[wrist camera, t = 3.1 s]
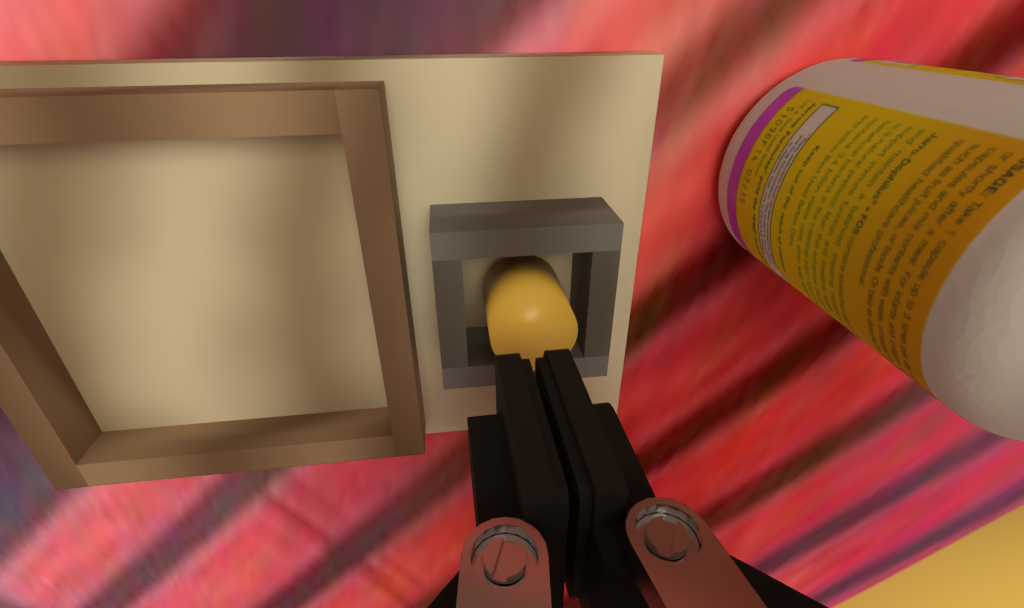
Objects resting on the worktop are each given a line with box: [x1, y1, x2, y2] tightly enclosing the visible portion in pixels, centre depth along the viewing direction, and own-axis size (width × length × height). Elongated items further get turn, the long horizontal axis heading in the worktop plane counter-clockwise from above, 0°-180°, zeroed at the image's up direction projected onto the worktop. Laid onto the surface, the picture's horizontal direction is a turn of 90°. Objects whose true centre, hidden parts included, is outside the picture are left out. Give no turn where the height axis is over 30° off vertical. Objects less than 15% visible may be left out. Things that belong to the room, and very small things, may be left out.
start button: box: [483, 255, 578, 371], centre depth 15 cm, size 2×2×3 cm
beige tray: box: [0, 51, 664, 490], centre depth 16 cm, size 20×13×3 cm, turn 90°
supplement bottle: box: [718, 58, 1024, 442], centre depth 12 cm, size 7×7×13 cm
